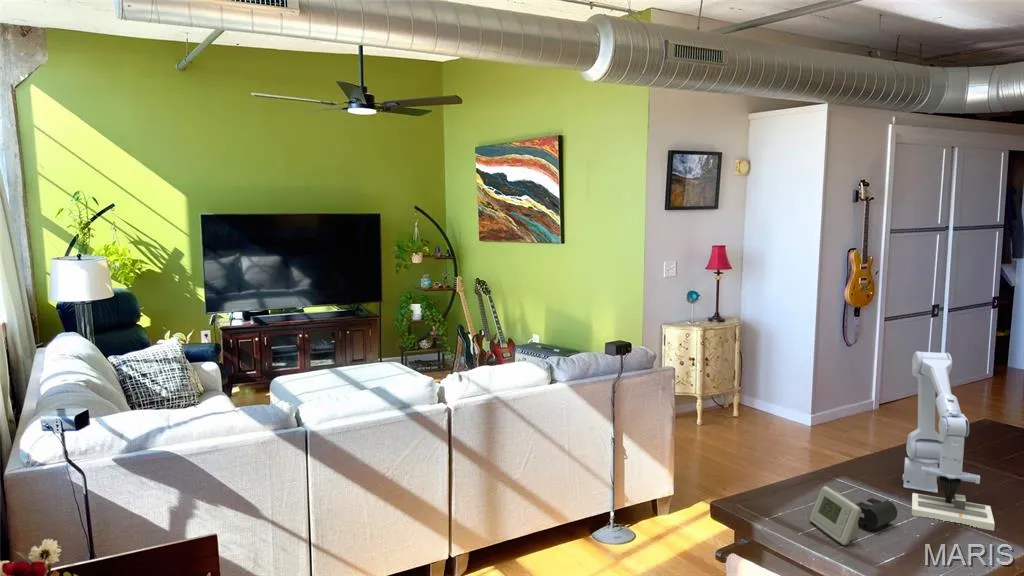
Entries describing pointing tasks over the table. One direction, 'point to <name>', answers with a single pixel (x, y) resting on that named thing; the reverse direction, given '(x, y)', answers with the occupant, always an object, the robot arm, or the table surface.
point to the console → (952, 511)
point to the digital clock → (836, 516)
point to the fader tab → (959, 502)
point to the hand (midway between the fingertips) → (948, 502)
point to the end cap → (876, 514)
